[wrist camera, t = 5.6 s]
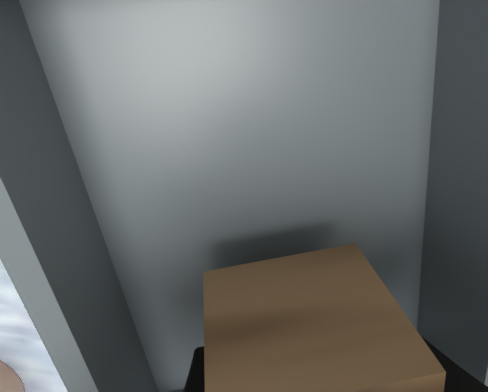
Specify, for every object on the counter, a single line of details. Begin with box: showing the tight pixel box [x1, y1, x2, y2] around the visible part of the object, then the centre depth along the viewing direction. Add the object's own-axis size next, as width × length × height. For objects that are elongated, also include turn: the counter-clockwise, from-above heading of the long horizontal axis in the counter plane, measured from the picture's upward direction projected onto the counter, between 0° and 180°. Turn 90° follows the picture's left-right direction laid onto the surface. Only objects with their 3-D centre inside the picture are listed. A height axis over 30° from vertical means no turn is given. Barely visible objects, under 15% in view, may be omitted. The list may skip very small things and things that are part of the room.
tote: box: [0, 0, 488, 392], centre depth 12 cm, size 18×14×5 cm
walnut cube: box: [203, 243, 446, 392], centre depth 11 cm, size 5×5×5 cm
